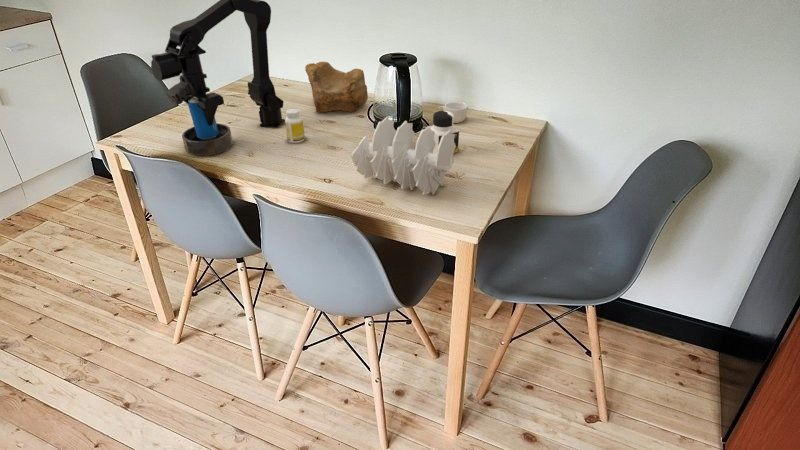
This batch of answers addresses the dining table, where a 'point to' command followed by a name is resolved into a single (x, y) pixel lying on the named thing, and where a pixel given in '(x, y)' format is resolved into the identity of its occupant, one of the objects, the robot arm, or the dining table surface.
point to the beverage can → (201, 121)
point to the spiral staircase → (405, 156)
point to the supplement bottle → (294, 126)
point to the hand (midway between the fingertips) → (204, 122)
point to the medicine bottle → (444, 127)
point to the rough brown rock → (336, 87)
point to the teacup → (456, 110)
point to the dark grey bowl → (207, 141)
